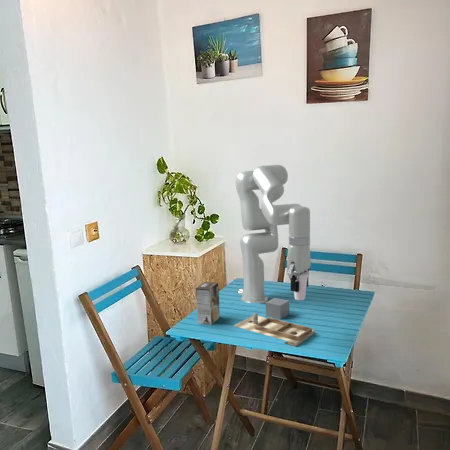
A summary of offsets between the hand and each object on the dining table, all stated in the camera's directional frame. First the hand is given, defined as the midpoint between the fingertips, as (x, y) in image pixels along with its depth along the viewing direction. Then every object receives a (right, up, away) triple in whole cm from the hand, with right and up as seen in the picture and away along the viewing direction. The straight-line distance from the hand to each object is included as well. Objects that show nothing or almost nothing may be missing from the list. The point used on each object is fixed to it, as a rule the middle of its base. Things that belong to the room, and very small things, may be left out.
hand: (299, 288), depth 162 cm
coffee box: (-34, -17, +18) cm, 42 cm away
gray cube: (-6, -15, +21) cm, 26 cm away
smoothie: (0, -4, +1) cm, 4 cm away
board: (-9, -18, +8) cm, 21 cm away
